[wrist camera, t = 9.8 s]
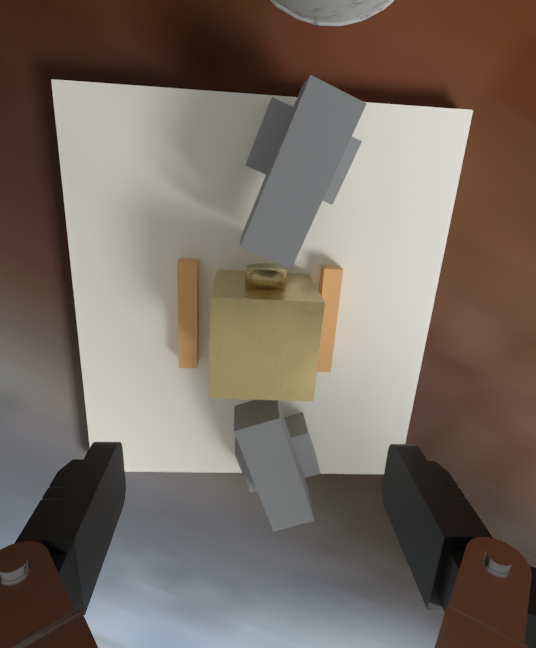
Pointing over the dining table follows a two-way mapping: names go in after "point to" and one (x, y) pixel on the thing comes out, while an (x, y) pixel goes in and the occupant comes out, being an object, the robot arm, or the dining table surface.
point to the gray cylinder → (331, 10)
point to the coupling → (264, 334)
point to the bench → (251, 248)
